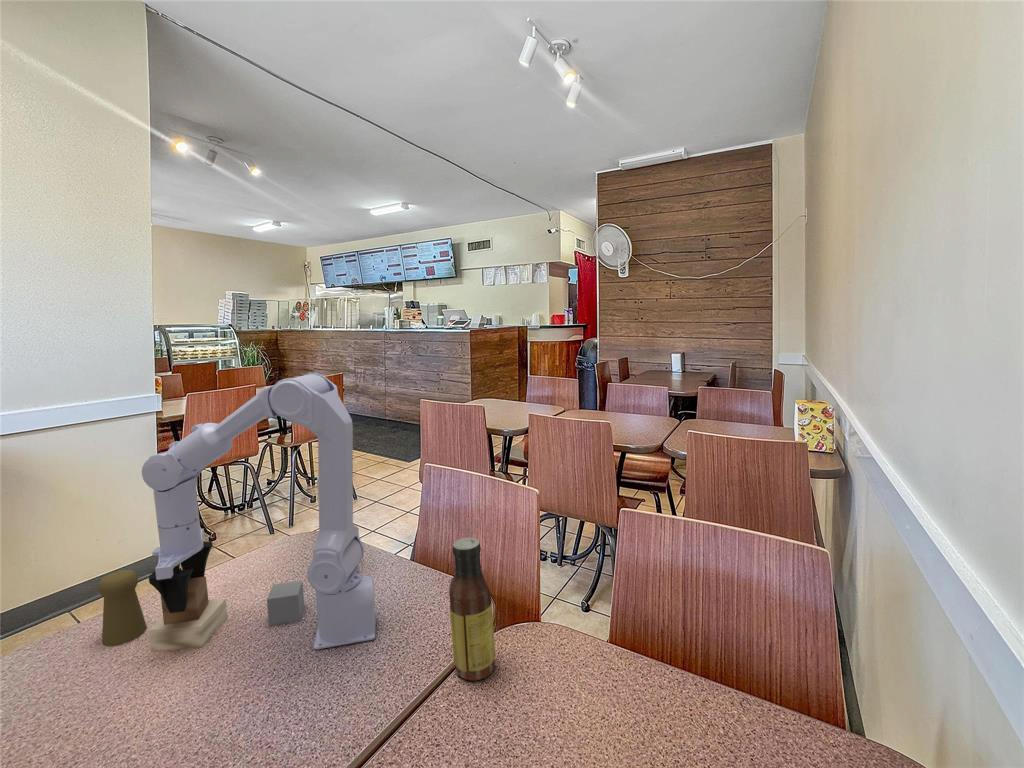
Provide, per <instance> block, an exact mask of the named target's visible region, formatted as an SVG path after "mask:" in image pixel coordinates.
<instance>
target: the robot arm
mask: <svg viewBox="0 0 1024 768" xmlns="http://www.w3.org/2000/svg"><path fill="white" fill-rule="evenodd" d="M338 390H339V389H338V386H337V385H336V384H334V383H333V382H332V381H331V380H330V379H328V378H327V377H326V376H324V375H323V374H321V373H318V372H317V373H316V372H309V373H306V374H304V375H300V376H296V377H292V378H291V377H290V378H289V377H288V378H283V379H280V380H278V381H277V382H276V383H275V384H274V385H272V386H268V387H267V388H264V389H263V390H261V391H260V392H258V393H257V394H255V395H254V396H253V397H251V398H250V399H249V400H248V401H246V402H245V403H244V404H243V405H241V406H240V407H239V408H238V409H236V410H235V411H234V412H232V413H230V414H229V415H228V416H227V417H225V418H224V419H223V420H221V422H219V423H216V422H215V423H214V422H206V423H204V424H203V423H202V422H201V423H198V424H195V425H193V426H192V427H191V428H190V432H191V433H189V434H188V435H186V436H185V437H184V438H182V439H181V440H179V441H178V440H176V441H173V442H171V443H170V444H168V450H167V451H165V452H163V453H156V454H154V455H151V456H149V457H148V459H147V460H146V461H145V462H144V463H143V465H142V467H141V475H142V476H141V477H142V479H143V481H144V483H145V484H146V485H147V486H148V487H149V488H151V489H152V490H153V499H154V507H155V514H156V515H155V516H156V524H157V533H158V543H159V546H158V547H156V548H154V550H152V552H151V554H152V556H153V557H157V556H158V563H157V565H156V567H155V568H154V570H155V571H153V572H152V573H151V574H150V575H149V576H148V582H149V585H151V586H152V587H153V588H155V589H156V591H157V592H158V593H159V595H160V597H161V596H162V598H163V600H164V602H165V604H166V606H167V608H168V610H169V612H170V613H175V612H182V611H185V609H186V606H187V591H188V583H189V579H191V578H198V577H205V576H206V575H205V574H206V567H207V562H208V559H209V554H210V552H211V549H212V547H213V546H214V543H213V541H210V540H209V541H204V540H205V539H206V537H205V529H204V528H201V521H200V516H199V515H200V513H199V512H200V511H199V505H198V504H199V503H198V496H197V486H198V485H199V484H198V477H199V475H200V474H201V473H202V471H203V470H204V469H206V468H207V467H208V466H210V465H211V464H212V463H214V462H215V461H217V460H218V459H220V458H221V457H223V456H224V455H226V454H227V453H229V452H230V450H231V449H232V447H233V443H234V442H233V440H234V439H235V438H237V437H238V436H239V435H241V434H243V433H244V432H246V431H247V430H249V429H251V428H252V427H254V426H255V425H257V424H258V423H260V422H261V421H263V420H264V419H266V418H276V417H278V416H279V417H280V418H282V419H284V420H287V421H289V422H292V423H294V424H297V425H299V426H302V427H304V428H306V429H307V430H308V431H310V432H311V433H312V434H314V435H315V436H316V437H317V452H318V453H317V456H318V458H317V460H318V462H317V464H318V465H317V466H318V470H317V471H318V472H317V473H318V475H317V476H319V499H318V534H317V536H316V540H315V543H314V545H313V549H312V560H311V562H310V564H309V566H308V567H307V573H306V576H307V581H308V583H309V585H310V586H311V588H312V589H313V590H315V597H316V611H317V623H318V626H317V630H316V634H315V639H314V643H313V650H316V651H317V650H322V649H326V648H333V647H338V646H339V647H340V646H345V645H350V644H355V643H362V642H367V641H372V640H374V639H375V638H376V621H377V620H378V608H377V607H376V598H375V597H376V596H375V595H376V594H375V581H374V579H375V578H374V576H369V575H368V576H367V575H361V571H360V567H359V564H360V562H361V561H362V559H363V557H364V555H365V547H364V544H363V542H362V540H361V538H360V533H359V531H360V530H359V527H358V526H356V525H355V524H354V498H353V497H354V494H353V493H354V479H353V478H354V477H353V476H354V465H353V463H354V457H353V456H354V455H353V454H354V451H353V450H354V448H353V447H354V443H353V442H354V440H353V439H354V438H353V437H354V436H353V433H354V432H353V430H354V429H353V427H354V425H353V419H352V417H351V415H350V414H349V411H348V410H347V408H346V406H345V405H344V403H343V401H342V399H341V397H340V396H339V392H338ZM179 564H180V566H181V568H180V566H179Z"/></svg>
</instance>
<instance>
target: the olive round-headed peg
mask: <svg viewBox="0 0 1024 768" xmlns="http://www.w3.org/2000/svg"><path fill="white" fill-rule="evenodd" d="M138 581H139V578H138V574H137V573H136V572H135V571H134V570H132V569H122V570H116V571H114V572H111V573H108V574H107V575H105V576H103V578H101V580H100V581H99V583H98V587H97V589H98V594H100V596H101V597H102V598H103V609H102V612H103V613H102V628H101V630H102V633H101V644H102V645H103V646H105V647H114V646H116V647H117V646H120V645H121V646H122V645H123V644H127V643H129V642H131V641H135V640H136V639H137V638H140V637H141V636H142V635H143V634H145V632H146V631H147V629H148V625H147V622H146V620H145V616H144V613H143V610H142V606H141V603H140V600H139V596H138V594H137V592H136V587H137V586H138V583H139V582H138Z"/></svg>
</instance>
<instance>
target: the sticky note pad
mask: <svg viewBox="0 0 1024 768" xmlns="http://www.w3.org/2000/svg"><path fill="white" fill-rule="evenodd" d="M208 601H209V604H208V605H207V607H206V608H205V610H204V612H203V613H202V615H201V617H200V618H199V619H198V620H192V621H186V622H180V623H174V624H168V625H164V620H163V616H162V617H161V618H160V619H159V620H158V621H156V622H155V624H154V625H152V626H151V627H150V628H149V629H148V635H149V644H150V651H151V652H154V651H155V652H157V651H159V652H160V651H173V650H183V649H184V650H185V649H200V648H204V647H205V645H206V644H207V643H208V642H209V641H210V640H211V639H212V638H213V636H214V635H215V634H216V632H217V631H218V630H219V629H220V628H221V626H222V625H223V624H224V623H225V622H226V620H228V609H227V600H226V598H219V599H218V598H217V599H208ZM224 621H225V622H224ZM223 622H224V623H223ZM222 623H223V624H222ZM219 627H220V628H219ZM218 628H219V629H218ZM217 629H218V630H217ZM214 633H215V634H214ZM213 634H214V635H213ZM212 635H213V636H212ZM209 639H210V640H209Z"/></svg>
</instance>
